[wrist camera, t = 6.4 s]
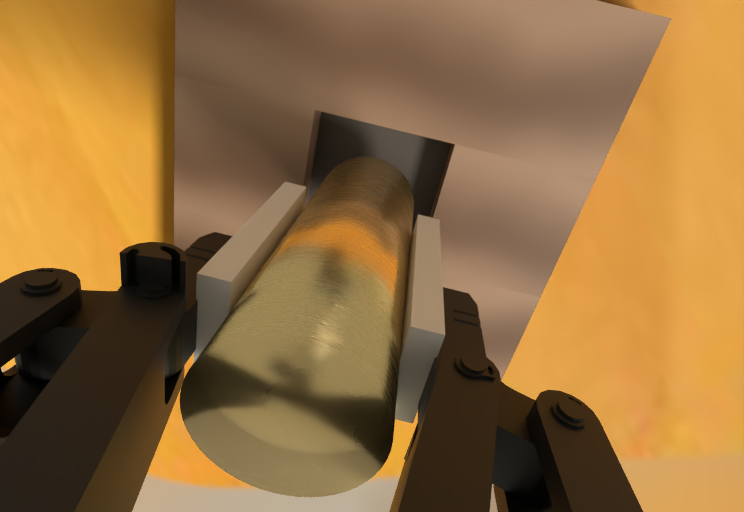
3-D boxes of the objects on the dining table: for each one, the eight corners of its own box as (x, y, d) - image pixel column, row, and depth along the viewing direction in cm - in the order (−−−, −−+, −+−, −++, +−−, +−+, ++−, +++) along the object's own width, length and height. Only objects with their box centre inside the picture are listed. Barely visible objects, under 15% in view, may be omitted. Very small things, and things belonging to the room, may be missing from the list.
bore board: (201, -89, 18) (175, -103, 16) (646, 19, 17) (671, 18, 16) (190, 289, 26) (173, 308, 24) (492, 364, 26) (497, 389, 24)
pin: (328, 146, 18) (180, 312, 7) (424, 169, 18) (417, 370, 7) (313, 234, 20) (178, 469, 9) (401, 255, 20) (368, 516, 9)
